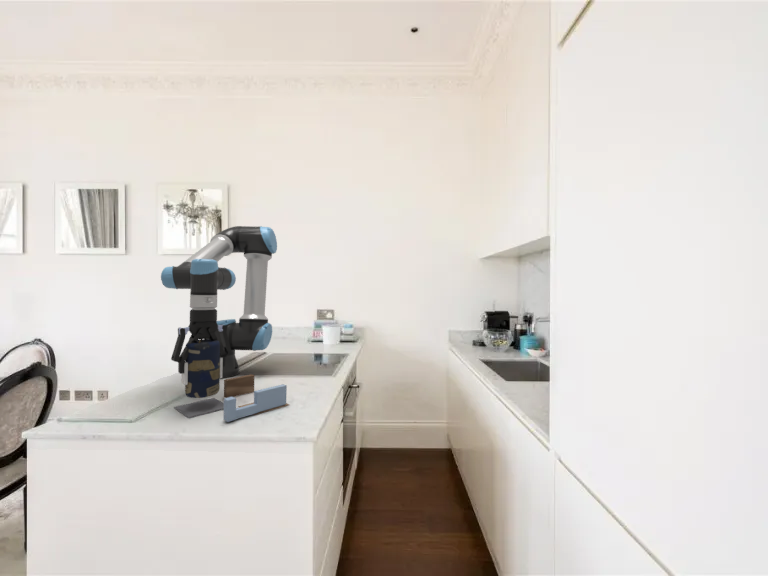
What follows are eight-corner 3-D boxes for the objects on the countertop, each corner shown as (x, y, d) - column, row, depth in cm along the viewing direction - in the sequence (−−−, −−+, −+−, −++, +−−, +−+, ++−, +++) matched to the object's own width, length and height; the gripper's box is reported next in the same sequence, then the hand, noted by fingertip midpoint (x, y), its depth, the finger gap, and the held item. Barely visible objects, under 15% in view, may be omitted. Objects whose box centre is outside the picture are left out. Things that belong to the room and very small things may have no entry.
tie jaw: (223, 419, 96) (223, 398, 96) (282, 402, 110) (283, 384, 110) (227, 422, 94) (227, 400, 94) (287, 404, 109) (287, 385, 109)
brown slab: (220, 397, 115) (221, 380, 115) (254, 390, 124) (254, 373, 124) (254, 415, 101) (254, 395, 101) (289, 405, 110) (289, 386, 110)
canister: (225, 391, 110) (226, 336, 110) (207, 401, 101) (208, 340, 100) (197, 390, 111) (198, 335, 111) (177, 399, 101) (178, 339, 101)
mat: (173, 408, 105) (173, 406, 105) (213, 398, 114) (213, 397, 114) (188, 418, 97) (188, 417, 97) (230, 407, 106) (230, 406, 106)
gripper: (167, 310, 95) (166, 390, 95) (243, 308, 112) (242, 376, 112) (158, 309, 100) (157, 385, 100) (233, 306, 117) (232, 372, 117)
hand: (202, 380), depth 106 cm, fingers closed on canister, 9 cm apart
